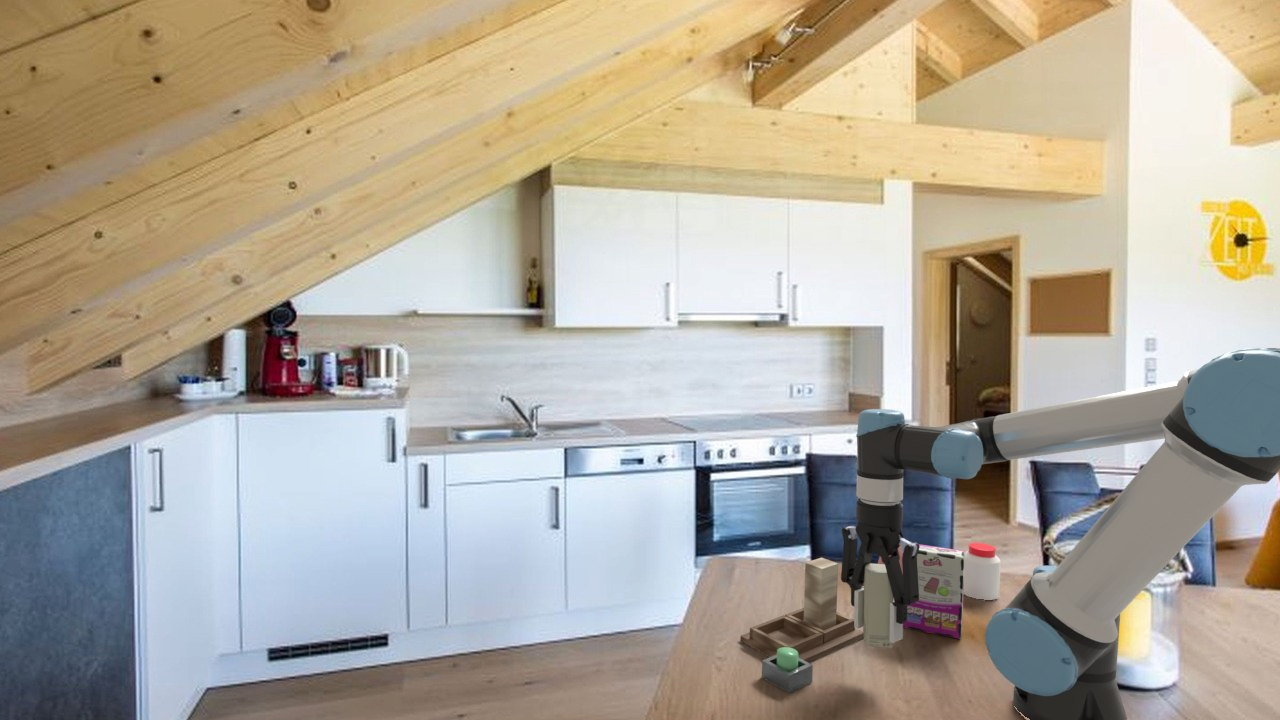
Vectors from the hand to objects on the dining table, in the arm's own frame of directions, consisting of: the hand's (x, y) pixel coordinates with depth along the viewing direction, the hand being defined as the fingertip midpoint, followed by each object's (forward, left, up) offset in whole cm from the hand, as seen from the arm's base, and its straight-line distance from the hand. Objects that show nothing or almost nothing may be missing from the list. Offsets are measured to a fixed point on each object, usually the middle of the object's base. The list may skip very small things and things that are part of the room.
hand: (877, 632), depth 116 cm
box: (0, 0, -2) cm, 2 cm away
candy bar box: (+5, -26, -8) cm, 28 cm away
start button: (+9, +13, -7) cm, 17 cm away
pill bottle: (+8, -52, -8) cm, 53 cm away
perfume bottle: (+24, -43, -8) cm, 50 cm away
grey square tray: (+9, +13, -8) cm, 18 cm away
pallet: (+17, -1, -8) cm, 19 cm away
